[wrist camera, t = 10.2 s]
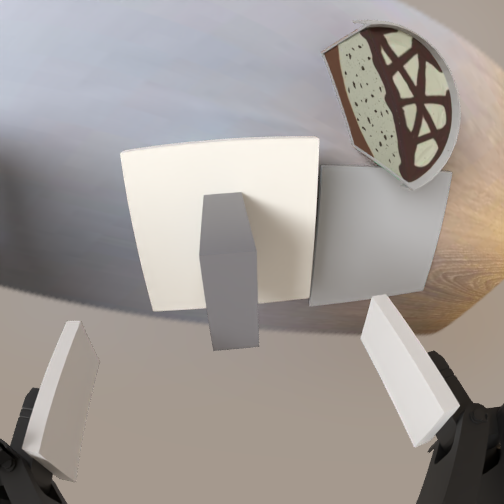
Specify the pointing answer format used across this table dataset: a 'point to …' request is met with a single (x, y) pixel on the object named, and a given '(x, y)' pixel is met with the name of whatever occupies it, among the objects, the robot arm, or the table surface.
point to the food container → (396, 99)
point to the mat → (374, 233)
